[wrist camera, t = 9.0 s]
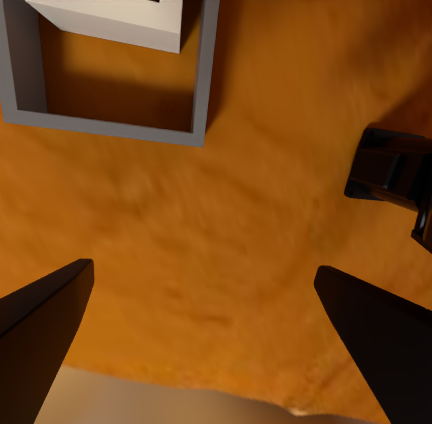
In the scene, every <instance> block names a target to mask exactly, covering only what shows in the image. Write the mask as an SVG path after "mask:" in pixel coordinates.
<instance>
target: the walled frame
mask: <svg viewBox="0 0 432 424" xmlns="http://www.w3.org/2000/svg"><path fill="white" fill-rule="evenodd" d="M219 1H220V0H202V8H201V19H200V30H199V41H198V52H197V63H196V74H195V85H194V95H193V106H192V117H191V128H190V132H185V131H178V130H171V129H163V128H156V127H149V126H141V125H134V124H127V123H119V122H112V121H105V120H97V119H90V118H83V117H75V116H68V115H61V114H53V113H48V111H47V101H46V90H45V80H44V70H43V60H42V50H41V40H40V29H39V19H38V12H40V13H41V14H42V15H43V16H44V17H46V18H47V19H48V20H49V21H51V22H52V23H53V24H54V25H55V26H57V27H58V28H59V29H60V30H63V31H68V32H73V33H78V34H83V35H88V36H93V37H98V38H103V39H108V40H113V41H118V42H123V43H128V44H133V45H138V46H143V47H148V48H153V49H158V50H163V51H168V52H173V53H178V54H179V51H180V36H181V22H182V7H183V0H160V3H157V2H153V1H149V0H0V100H1V106H2V113H3V119H4V122H5V123H13V124H21V125H29V126H37V127H45V128H53V129H61V130H69V131H77V132H85V133H93V134H101V135H109V136H117V137H125V138H133V139H141V140H149V141H157V142H165V143H173V144H181V145H189V146H197V147H203V145H204V136H205V127H206V118H207V109H208V100H209V91H210V82H211V73H212V64H213V55H214V46H215V37H216V28H217V19H218V10H219Z"/></svg>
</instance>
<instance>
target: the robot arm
mask: <svg viewBox="0 0 432 424" xmlns="http://www.w3.org/2000/svg"><path fill="white" fill-rule="evenodd" d="M370 132H371V134H370V136H369V133H370ZM350 191H351V193H350ZM349 193H350V194H349ZM344 194H345V196H346V197H349V198H356V199H367V200H378V201H388V202H390V203H393V204H396V205H399V206H401V207H404V208H407V209H410V210H412V211H415V212H418V215H417V219H416V223H415V227H414V230H412V233H411V237H412V238H413V239H414V240H416V241H417V242H418V243H419V244H420V245H422V246H423V247H424V248H425V249H426V250H428V251H429V252H430V253H431V254H432V139H426V138H425V137H424V136H418V135H412V134H406V133H400V132H394V131H388V130H382V129H376V128H368V129H366V130H365V131H364V133H363V136H362V139H361V142H360V145H359V148H358V151H357V155H356V158H355V161H354V164H353V167H352V170H351V173H350V176H349V179H348V182H347V185H346V188H345V191H344ZM93 285H94V262H93V260H92V259H78V260H76V261H74V262H72V263H70V264H68V265H66V266H64V267H62V268H60V269H58V270H56V271H54V272H52V273H50V274H48V275H46V276H44V277H42V278H40V279H38V280H36V281H34V282H32V283H30V284H28V285H27V286H25V287H23V288H21V289H19V290H17V291H15V292H13V293H11V294H9V295H7V296H5V297H3V298H1V299H0V424H34V422H35V419H36V417H37V415H38V413H39V411H40V409H41V407H42V405H43V402H44V400H45V398H46V396H47V394H48V392H49V390H50V387H51V385H52V383H53V381H54V379H55V377H56V375H57V373H58V371H59V369H60V367H61V364H62V362H63V360H64V358H65V356H66V354H67V352H68V350H69V347H70V345H71V343H72V341H73V339H74V337H75V335H76V333H77V330H78V328H79V326H80V323H81V321H82V318H83V315H84V312H85V309H86V306H87V303H88V300H89V297H90V294H91V291H92V288H93ZM314 288H315V290H316V292H317V294H318V296H319V298H320V300H321V302H322V305H323V307H324V309H325V311H326V313H327V315H328V317H329V319H330V321H331V323H332V324H333V326H334V328H335V330H336V331H337V333H338V335H339V336H340V338H341V340H342V341H343V343H344V345H345V346H346V348H347V350H348V352H349V353H350V355H351V357H352V358H353V360H354V362H355V363H356V365H357V367H358V368H359V370H360V372H361V374H362V375H363V377H364V379H365V380H366V382H367V384H368V385H369V387H370V389H371V390H372V392H373V394H374V396H375V397H376V399H377V401H378V402H379V404H380V406H381V407H382V409H383V411H384V412H385V414H386V416H387V418H388V419H389V421H390V423H391V424H432V311H431V310H429V309H426V308H424V307H422V306H420V305H417V304H415V303H413V302H411V301H408V300H406V299H404V298H402V297H399V296H397V295H395V294H392V293H390V292H388V291H386V290H383V289H381V288H379V287H377V286H374V285H372V284H370V283H368V282H365V281H363V280H361V279H359V278H356V277H354V276H352V275H349V274H347V273H345V272H343V271H340V270H338V269H336V268H334V267H331V266H324V265H322V266H319V268H318V270H317V273H316V276H315V279H314Z"/></svg>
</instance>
